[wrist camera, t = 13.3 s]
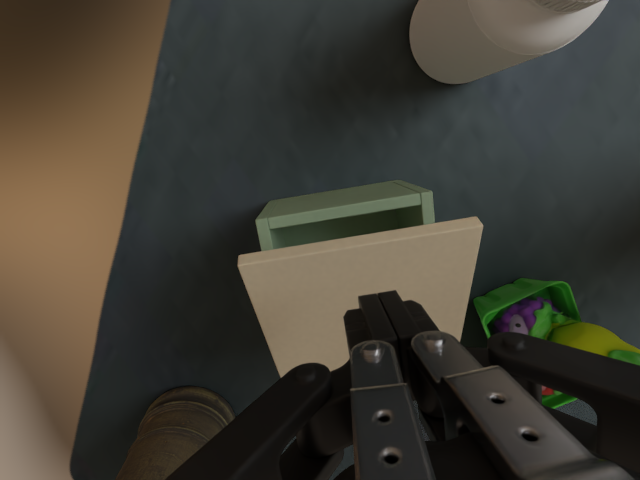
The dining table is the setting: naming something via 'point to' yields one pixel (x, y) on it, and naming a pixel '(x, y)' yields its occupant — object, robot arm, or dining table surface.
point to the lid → (357, 285)
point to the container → (174, 432)
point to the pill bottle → (492, 33)
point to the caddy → (343, 214)
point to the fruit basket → (548, 323)
